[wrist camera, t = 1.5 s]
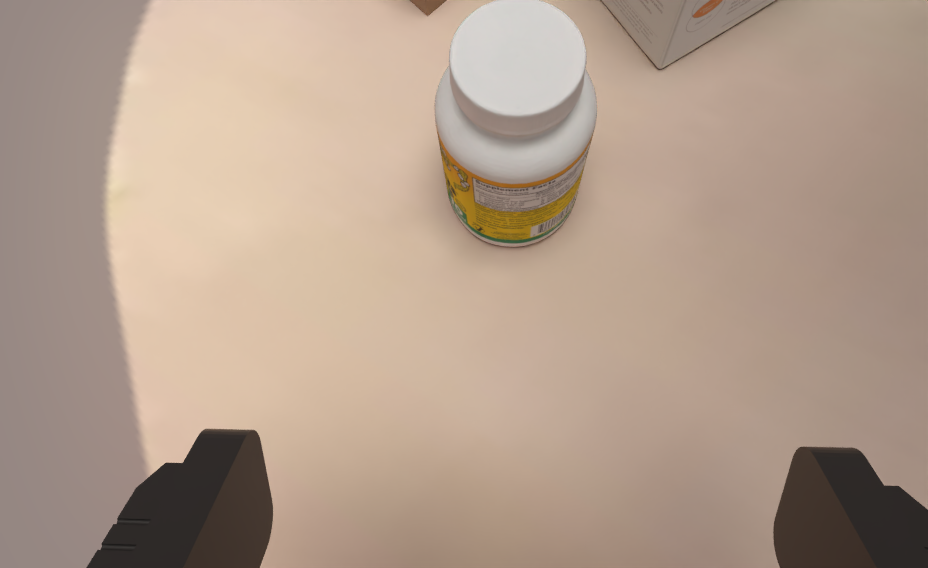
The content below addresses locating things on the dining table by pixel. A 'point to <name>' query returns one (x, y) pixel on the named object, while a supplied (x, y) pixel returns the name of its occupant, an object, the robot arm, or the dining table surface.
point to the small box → (678, 23)
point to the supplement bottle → (515, 120)
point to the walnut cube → (427, 5)
